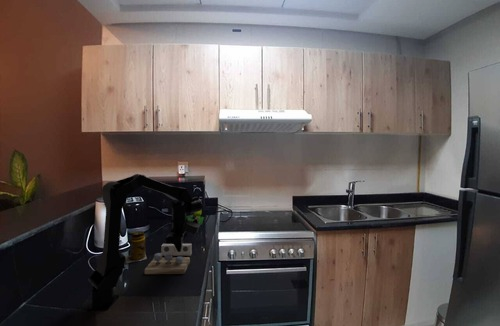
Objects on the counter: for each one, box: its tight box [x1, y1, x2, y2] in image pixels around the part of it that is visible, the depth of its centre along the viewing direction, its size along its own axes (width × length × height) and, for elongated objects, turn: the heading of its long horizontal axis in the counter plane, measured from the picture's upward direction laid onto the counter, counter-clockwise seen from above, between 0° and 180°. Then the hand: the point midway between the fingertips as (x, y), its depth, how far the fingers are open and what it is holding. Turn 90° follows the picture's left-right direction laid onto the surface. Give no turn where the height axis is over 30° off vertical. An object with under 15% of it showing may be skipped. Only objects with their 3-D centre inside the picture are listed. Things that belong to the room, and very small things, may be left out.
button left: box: [153, 252, 163, 264], centre depth 94 cm, size 3×3×4 cm
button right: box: [175, 256, 184, 264], centre depth 94 cm, size 3×3×4 cm
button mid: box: [164, 253, 173, 264], centre depth 94 cm, size 3×3×4 cm
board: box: [144, 256, 191, 275], centre depth 94 cm, size 10×16×2 cm, turn 93°
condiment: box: [124, 230, 148, 264], centre depth 102 cm, size 7×8×12 cm
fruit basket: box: [186, 209, 205, 226], centre depth 152 cm, size 11×9×11 cm
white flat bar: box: [160, 243, 193, 257], centre depth 106 cm, size 2×14×5 cm, turn 92°
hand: (179, 251), depth 94 cm, fingers closed
